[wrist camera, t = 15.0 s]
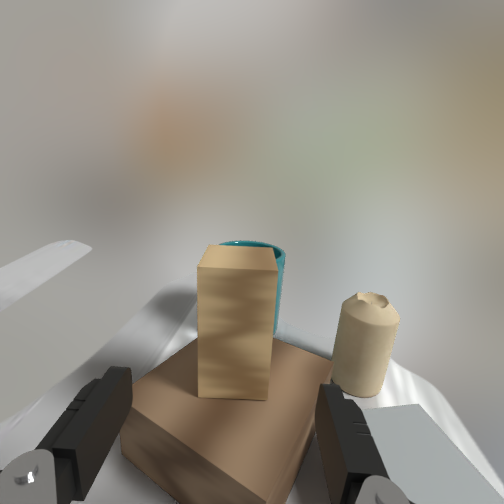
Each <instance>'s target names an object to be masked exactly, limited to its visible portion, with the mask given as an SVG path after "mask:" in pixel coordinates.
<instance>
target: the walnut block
mask: <svg viewBox="0 0 504 504" xmlns="http://www.w3.org/2000/svg"><path fill="white" fill-rule="evenodd" d="M333 365H334V362H333V361H330V360H328V359H325V358H323V357H320V356H318V355H315V354H313V353H310V352H308V351H305V350H303V349H300V348H298V347H295V346H293V345H290V344H288V343H285V342H283V341H280V340H278V339H275V338H273V340H272V352H271V364H270V376H269V388H268V400H251V399H226V398H201V397H198V338H196V339H195V340H193V341H192V342H191V343H189V344H188V345H186V346H185V347H184V348H182V349H181V350H179V351H178V352H177V353H175V354H174V355H173V356H171V357H170V358H168V359H167V360H166V361H164V362H163V363H161V364H160V365H159V366H157V367H156V368H154V369H153V370H152V371H150V372H149V373H147V374H146V375H145V376H143V377H142V378H140V379H139V380H138V381H136V382H135V383H133V384H132V390H133V401H132V406H131V409H130V412H129V414H128V416H127V418H126V420H125V422H124V424H123V426H122V428H121V429H120V441H121V452H122V455H123V456H124V457H126V458H127V459H128V460H129V461H130V462H132V463H133V464H134V465H135V466H136V467H137V468H139V469H140V470H141V471H142V472H143V473H145V474H146V475H147V476H148V477H149V478H150V479H152V480H153V481H154V482H155V483H156V484H158V485H159V486H160V487H161V488H162V489H163V490H165V491H166V492H167V493H168V494H169V495H170V496H172V497H173V498H174V499H175V500H176V501H178V502H179V503H180V504H285V503H286V500H287V498H288V496H289V493H290V491H291V489H292V486H293V484H294V482H295V479H296V477H297V474H298V472H299V470H300V467H301V465H302V463H303V460H304V458H305V456H306V453H307V451H308V449H309V446H310V444H311V441H312V439H313V437H314V434H315V432H316V429H315V408H316V402H317V397H318V392H319V386H320V384H321V383H322V384H330V380H331V375H332V370H333Z"/></svg>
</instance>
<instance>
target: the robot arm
mask: <svg viewBox="0 0 504 504" xmlns="http://www.w3.org/2000/svg"><path fill="white" fill-rule="evenodd" d="M132 401H133V390H132V375H131V369H130V368H127V367H114V366H111V367H110V368H109V369H108V370H107V372H106V373H105V374H104V376H103V377H102V379H94V380H92V381H91V382H90V383H88V384H87V385H86V386H84V387H83V388H82V389H81V390H80V392H79V393H78V394H77V396H76V397H75V398H74V400H73V401H72V402H71V403H70V405H69V406H68V407H67V408H66V411H64V412H63V414H62V415H61V416H60V417H59V419H58V420H57V421H56V423H55V424H54V425H53V426H52V428H51V429H50V430H49V432H48V433H47V434H46V436H45V437H44V438H43V439H42V441H41V442H40V443H39V445H38V446H37V447H36V448H35V449H34V450H32V451H29V452H26V453H24V454H22V455H20V456H19V457H17V458H16V459H14V460H13V461H12V462H10V463H9V464H8V465H7V466H6V467H5V468H4V469H3V470H0V504H70V503H71V501H72V500H74V501H84V500H85V498H86V496H87V494H88V492H89V490H90V488H91V486H92V484H93V482H94V480H95V478H96V476H97V474H98V472H99V470H100V468H101V466H102V465H103V463H104V461H105V459H106V457H107V455H108V453H109V451H110V449H111V447H112V445H113V443H114V441H115V439H116V437H117V435H118V433H119V431H120V429H121V428H122V426H123V424H124V422H125V420H126V418H127V416H128V414H129V412H130V409H131V406H132ZM315 429H316V434H317V438H318V443H319V448H320V453H321V457H322V462H323V467H324V472H325V477H326V481H327V486H328V491H329V496H330V500H331V504H415V503H413V502H412V501H410V500H409V499H407V497H406V495H405V494H404V492H403V491H402V490H401V489H400V488H399V487H398V486H397V485H396V484H395V483H394V482H392V481H391V480H390V477H389V475H388V473H387V471H386V468H385V466H384V463H383V461H382V458H381V456H380V453H379V451H378V449H377V446H376V444H375V441H374V439H373V436H371V432H370V429H369V427H368V425H367V422H366V419H365V417H364V415H363V412H362V410H361V409H360V408H359V407H358V405H357V404H356V403H355V402H354V401H353V400H352V399H344V396H343V393H342V390H341V388H340V386H339V385H335V384H322V383H321V384H320V386H319V392H318V397H317V402H316V408H315Z"/></svg>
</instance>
